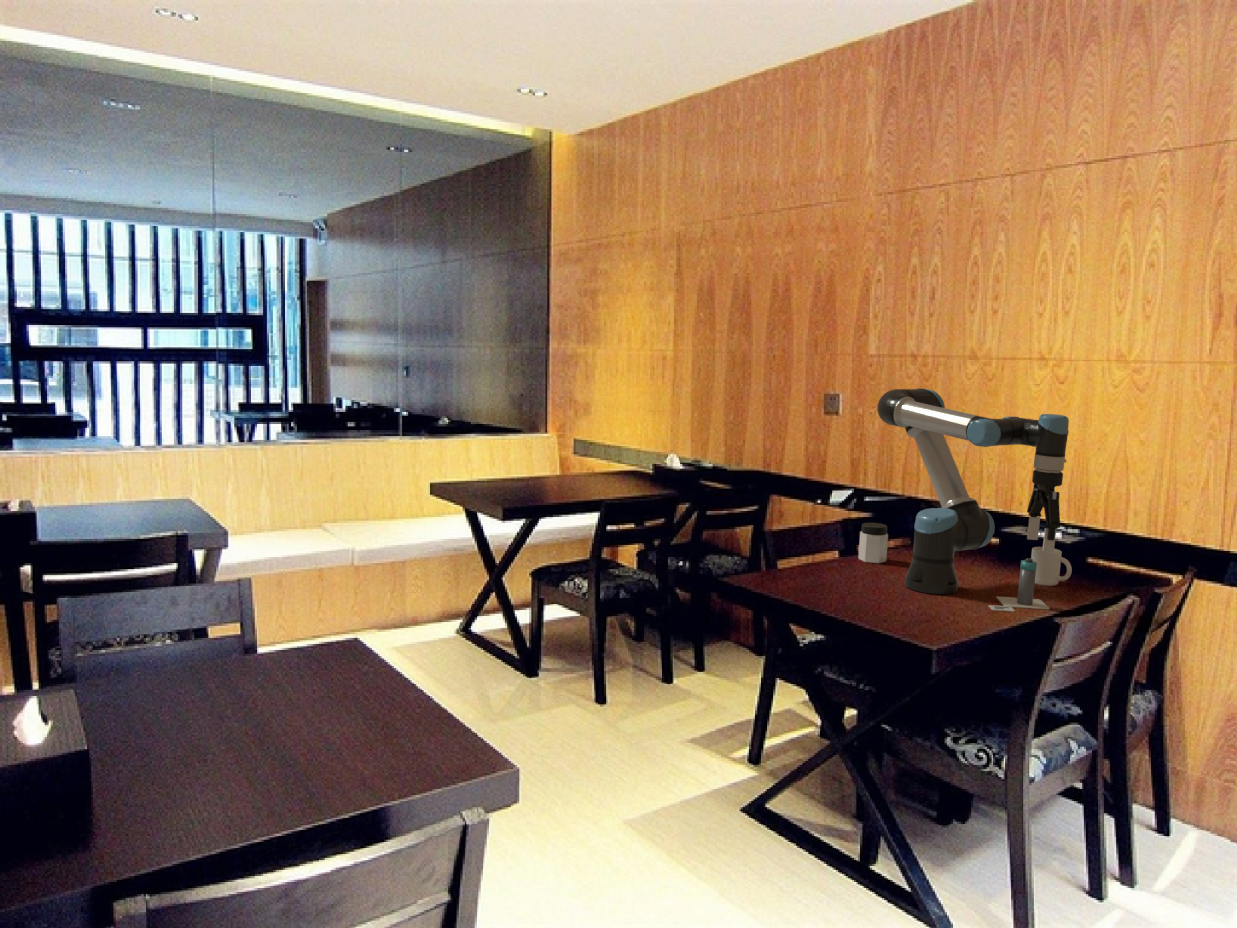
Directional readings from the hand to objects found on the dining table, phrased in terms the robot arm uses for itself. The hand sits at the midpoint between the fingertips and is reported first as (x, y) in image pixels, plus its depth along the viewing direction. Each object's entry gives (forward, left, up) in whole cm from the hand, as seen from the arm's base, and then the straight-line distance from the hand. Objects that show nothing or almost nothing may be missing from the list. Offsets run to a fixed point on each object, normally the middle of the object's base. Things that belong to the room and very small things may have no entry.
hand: (1039, 545), depth 252 cm
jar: (-39, +42, -18) cm, 60 cm away
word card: (-10, -6, -17) cm, 21 cm away
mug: (+12, +25, -18) cm, 33 cm away
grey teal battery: (-2, 0, -17) cm, 17 cm away
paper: (-3, +1, -17) cm, 18 cm away
